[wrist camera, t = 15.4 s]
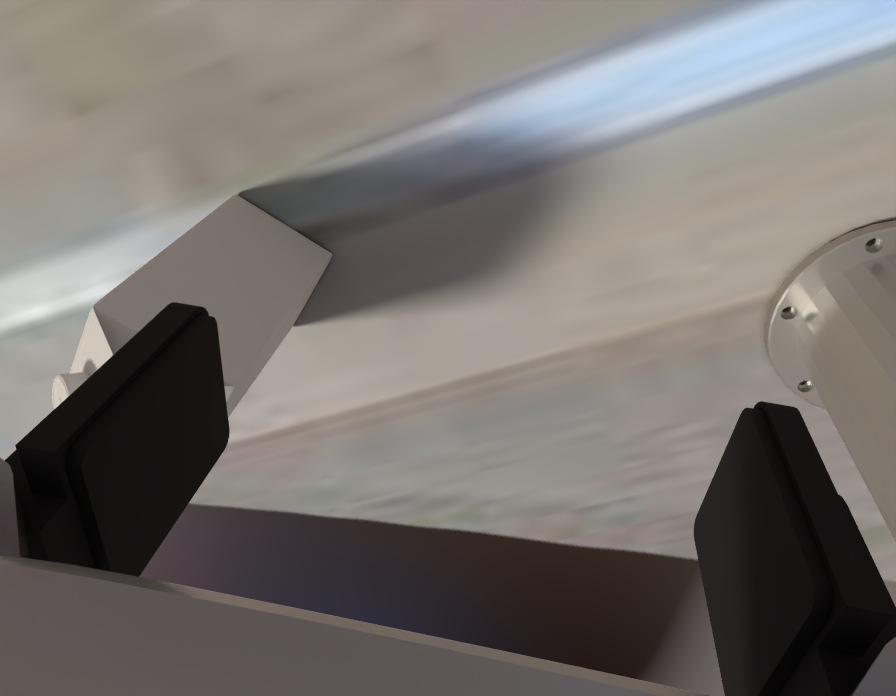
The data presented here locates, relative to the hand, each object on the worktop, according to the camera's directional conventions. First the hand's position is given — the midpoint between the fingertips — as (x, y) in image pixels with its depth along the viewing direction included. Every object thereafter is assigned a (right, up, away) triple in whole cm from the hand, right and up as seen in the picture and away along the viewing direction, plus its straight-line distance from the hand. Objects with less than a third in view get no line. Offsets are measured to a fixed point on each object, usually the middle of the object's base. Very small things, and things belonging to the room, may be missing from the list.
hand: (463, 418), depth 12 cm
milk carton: (-12, +7, +32) cm, 35 cm away
